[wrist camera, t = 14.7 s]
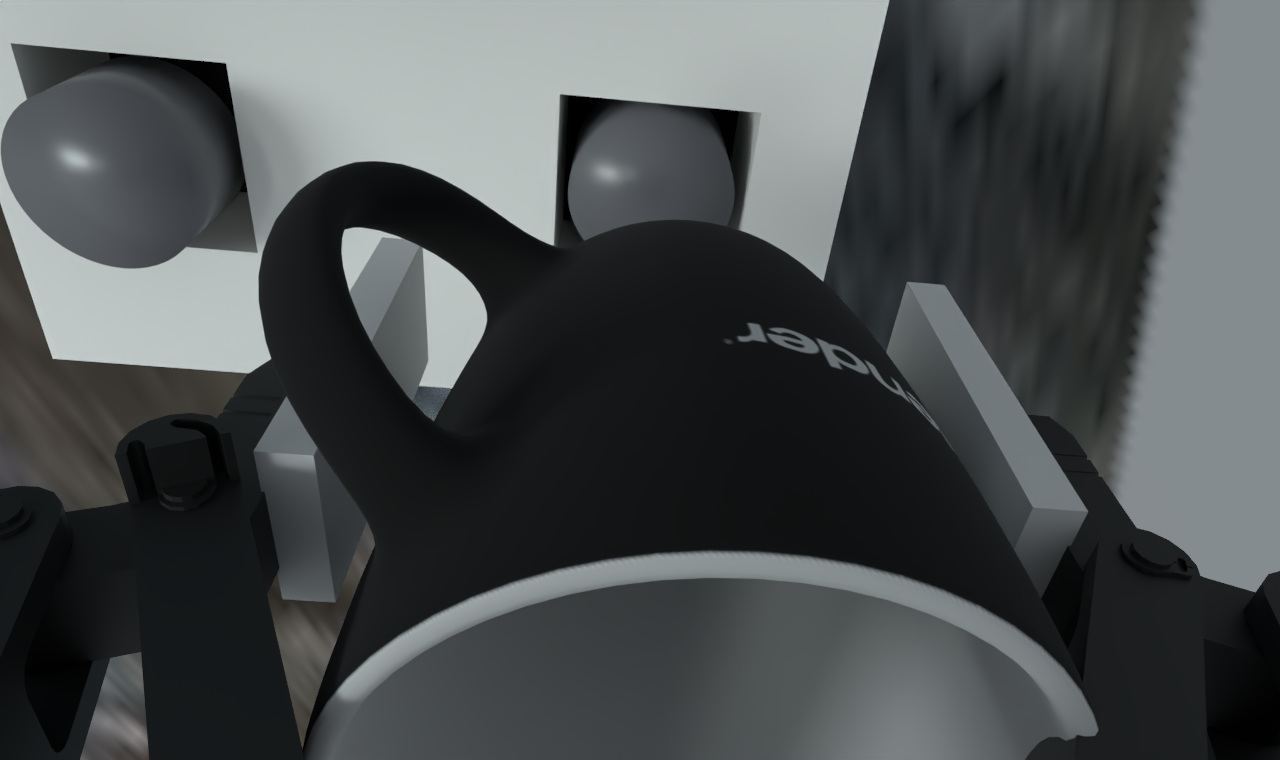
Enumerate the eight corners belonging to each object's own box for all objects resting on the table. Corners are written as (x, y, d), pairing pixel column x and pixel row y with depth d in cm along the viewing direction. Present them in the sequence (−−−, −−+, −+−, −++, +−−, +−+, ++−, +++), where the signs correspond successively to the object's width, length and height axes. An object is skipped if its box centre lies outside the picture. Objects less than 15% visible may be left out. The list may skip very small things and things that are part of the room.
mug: (963, 378, 18) (1241, 861, 10) (643, 572, 22) (649, 1061, 13) (586, -113, 13) (501, 28, 5) (240, 235, 17) (-170, 682, 8)
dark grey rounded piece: (96, 213, 24) (32, 260, 21) (50, 48, 21) (-27, 79, 19) (258, 226, 24) (214, 275, 22) (231, 64, 22) (178, 98, 19)
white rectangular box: (122, 302, 29) (55, 367, 25) (-5, -168, 21) (-123, -163, 18) (773, 352, 30) (790, 421, 27) (863, -77, 23) (902, -56, 19)
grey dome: (571, 221, 26) (564, 265, 24) (578, 74, 24) (572, 105, 21) (713, 234, 27) (721, 278, 24) (735, 89, 24) (747, 121, 22)
